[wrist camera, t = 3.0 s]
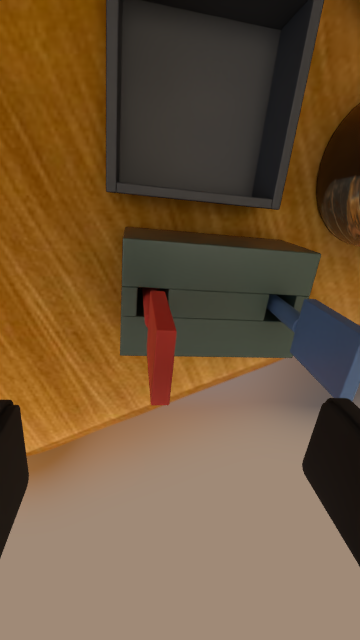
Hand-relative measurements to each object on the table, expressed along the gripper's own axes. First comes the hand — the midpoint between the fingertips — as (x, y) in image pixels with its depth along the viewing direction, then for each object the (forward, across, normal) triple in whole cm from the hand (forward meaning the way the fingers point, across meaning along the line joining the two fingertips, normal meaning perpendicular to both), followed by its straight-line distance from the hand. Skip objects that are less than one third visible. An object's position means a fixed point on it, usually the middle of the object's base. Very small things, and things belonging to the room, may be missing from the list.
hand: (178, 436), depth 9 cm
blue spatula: (+17, -9, 0) cm, 19 cm away
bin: (+17, -2, -12) cm, 21 cm away
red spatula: (+17, 0, 0) cm, 17 cm away
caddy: (+17, -4, 0) cm, 18 cm away
